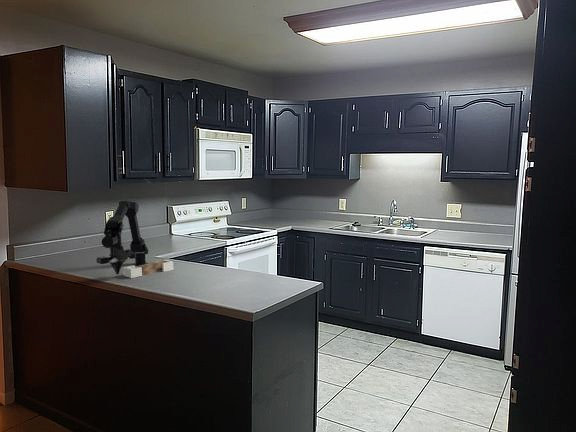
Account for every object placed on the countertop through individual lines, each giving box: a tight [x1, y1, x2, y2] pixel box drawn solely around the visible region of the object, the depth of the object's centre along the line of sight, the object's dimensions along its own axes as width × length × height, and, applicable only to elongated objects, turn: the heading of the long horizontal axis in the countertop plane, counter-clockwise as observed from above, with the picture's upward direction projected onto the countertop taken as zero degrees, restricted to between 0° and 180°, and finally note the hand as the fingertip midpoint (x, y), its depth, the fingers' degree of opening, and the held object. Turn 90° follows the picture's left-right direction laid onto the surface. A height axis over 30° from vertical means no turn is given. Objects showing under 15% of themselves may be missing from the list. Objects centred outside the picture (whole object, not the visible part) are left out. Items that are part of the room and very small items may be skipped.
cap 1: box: [122, 264, 143, 279], centre depth 244 cm, size 8×6×4 cm
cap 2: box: [155, 259, 174, 272], centre depth 258 cm, size 8×6×4 cm
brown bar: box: [138, 259, 167, 276], centre depth 253 cm, size 16×4×5 cm, turn 144°
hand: (117, 274), depth 238 cm, fingers closed
